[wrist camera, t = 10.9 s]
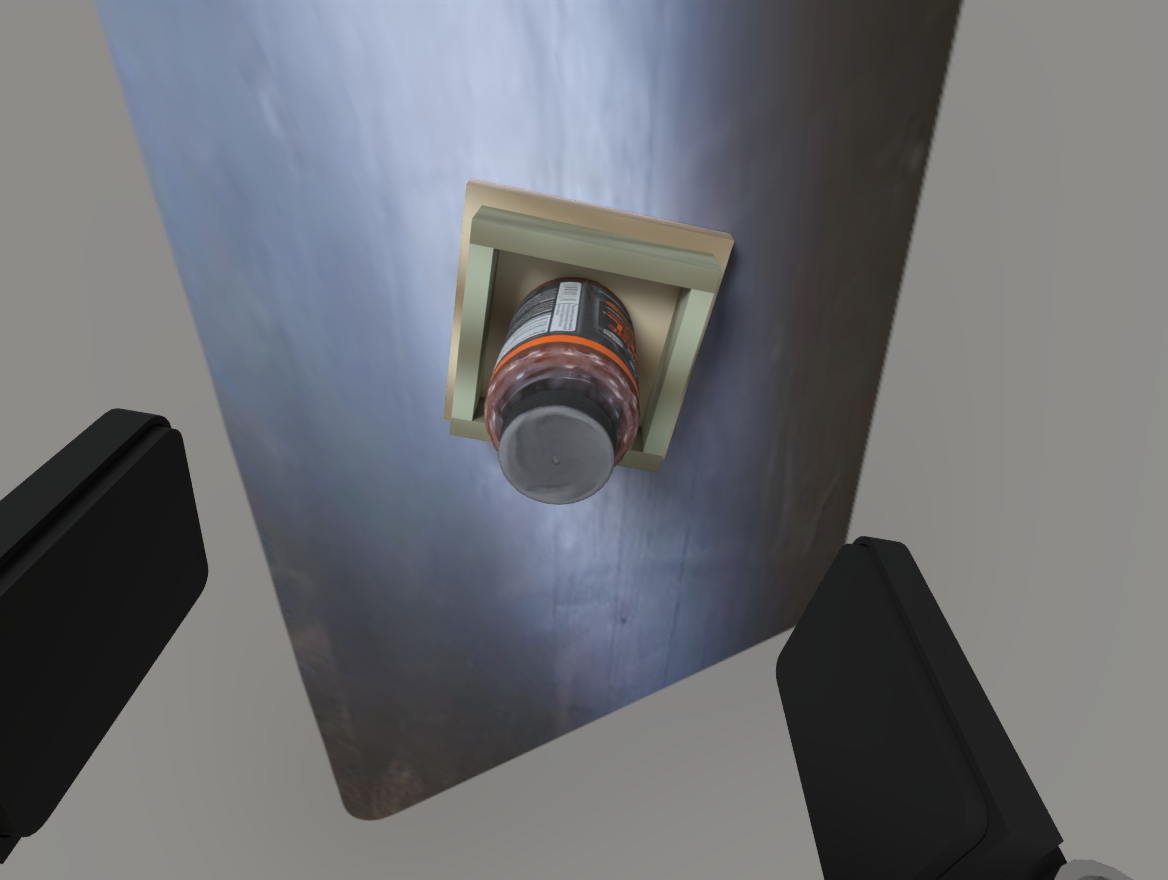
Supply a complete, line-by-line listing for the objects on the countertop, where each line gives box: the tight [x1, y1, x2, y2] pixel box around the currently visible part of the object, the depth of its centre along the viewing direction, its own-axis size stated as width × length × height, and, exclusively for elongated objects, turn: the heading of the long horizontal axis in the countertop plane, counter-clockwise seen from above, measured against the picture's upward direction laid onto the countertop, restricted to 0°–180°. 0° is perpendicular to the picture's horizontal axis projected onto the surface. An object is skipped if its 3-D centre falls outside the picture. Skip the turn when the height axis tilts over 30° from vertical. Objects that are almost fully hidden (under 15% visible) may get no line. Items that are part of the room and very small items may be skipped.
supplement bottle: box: [484, 277, 640, 505], centre depth 27 cm, size 6×6×11 cm
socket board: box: [444, 178, 734, 472], centre depth 31 cm, size 12×12×4 cm
